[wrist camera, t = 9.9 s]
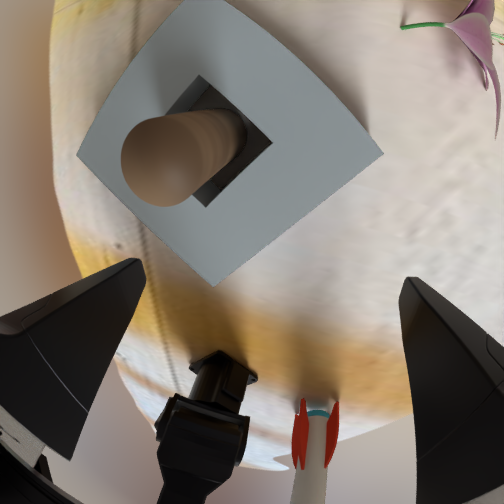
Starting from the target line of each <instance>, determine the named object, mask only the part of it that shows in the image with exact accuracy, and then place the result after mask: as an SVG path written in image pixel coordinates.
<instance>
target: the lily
mask: <svg viewBox="0 0 504 504" xmlns="http://www.w3.org/2000/svg"><path fill="white" fill-rule="evenodd" d="M494 10H495V7H494V0H471V1H470V2H469V4H468V5H467V7H466V8H465V9H464V10H463V12H462V13H461V14H460V15H459V16H458V17H457V18H456V19H455V20H454V21H453V22H451V23H439V22H425V23H417V24H410V25H405V26H401V27H400V28H401V29H402V30H405V29H411V28H417V27H426V26H439V27H447V28H449V29H451V30H452V31H454V32H455V33H456V35H457V36H458V37H459V38H460V39H461V40H462V41H463V43H464V44H465V45H466V46H467V47H468V49H469V50H470V51H471V53H472V54H473V55H474V56H475V58H476V59H477V61H478V62H479V63H480V65H481V66H482V68H483V69H484V71H485V73H486V88H485V89H486V91H487V89H488V86H489V81H488V77H487V69H488V71H489V74H490V76H491V79H492V81H493V85H494V88H495V94H496V102H497V118H496V132H495V139H496V136H497V131H498V126H499V119H500V109H501V92H500V83H499V79H498V75H497V71H496V69H495V66H494V64H493V62H492V45H494V44H493V43H492V39H494V38H492V36H494V37H497V38H500V39H503V40H504V37H503V38H502V36H504V34H503V35H502V36H498V35H501V34H497V33H493V32H491V30H490V24H491V22H492V21H493V16H494ZM491 33H493V34H491ZM494 34H497V35H494ZM494 40H496V39H494ZM496 41H498V40H496ZM498 42H499V43H500V44H501V45H504V44H503V43H502V42H500V41H498Z"/></svg>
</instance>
